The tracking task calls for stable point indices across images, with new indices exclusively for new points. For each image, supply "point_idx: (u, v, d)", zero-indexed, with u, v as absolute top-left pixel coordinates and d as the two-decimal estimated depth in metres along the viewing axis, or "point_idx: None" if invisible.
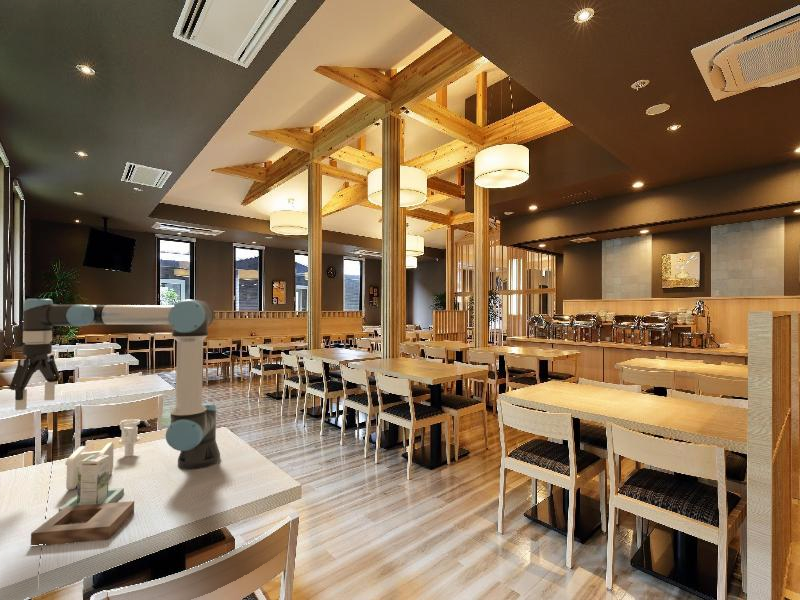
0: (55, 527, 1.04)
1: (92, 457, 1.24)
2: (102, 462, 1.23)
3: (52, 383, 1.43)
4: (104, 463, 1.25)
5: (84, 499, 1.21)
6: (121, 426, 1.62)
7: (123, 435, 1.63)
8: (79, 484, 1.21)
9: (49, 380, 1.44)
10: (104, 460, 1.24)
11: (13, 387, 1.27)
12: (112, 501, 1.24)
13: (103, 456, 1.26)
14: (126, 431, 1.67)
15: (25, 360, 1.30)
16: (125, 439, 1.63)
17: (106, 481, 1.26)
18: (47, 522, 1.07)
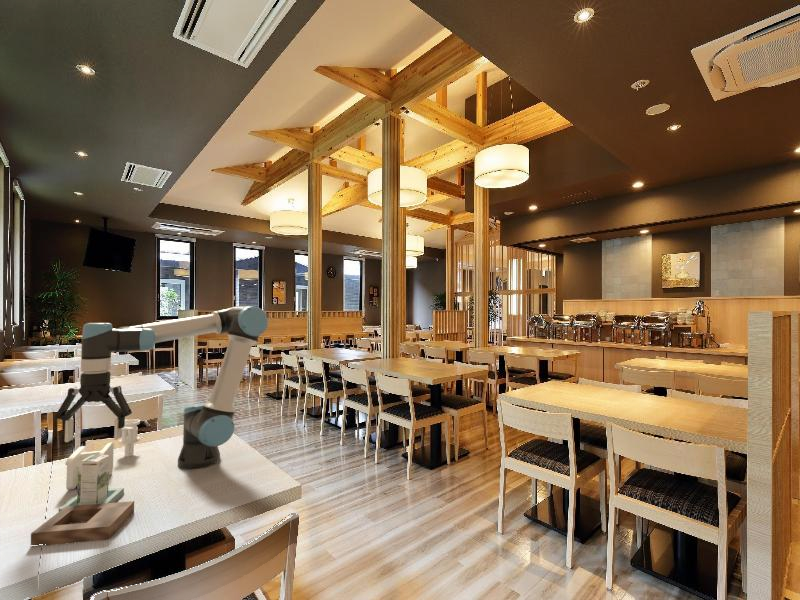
0: (55, 527, 1.04)
1: (92, 457, 1.24)
2: (102, 463, 1.23)
3: None
4: (104, 463, 1.25)
5: (84, 499, 1.21)
6: None
7: (123, 435, 1.63)
8: (79, 484, 1.21)
9: None
10: (104, 460, 1.24)
11: None
12: (112, 501, 1.24)
13: (103, 456, 1.25)
14: (126, 431, 1.67)
15: None
16: (125, 439, 1.63)
17: (106, 481, 1.26)
18: (47, 522, 1.07)
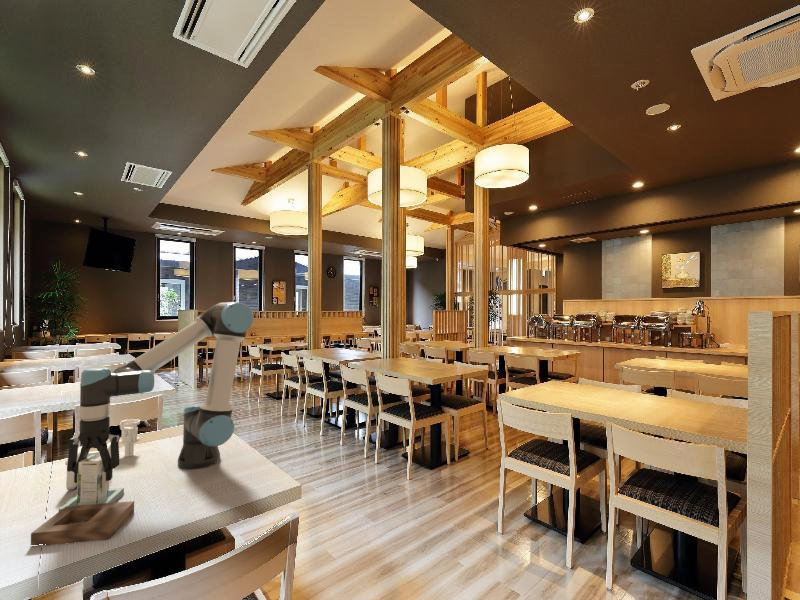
0: (55, 527, 1.04)
1: (92, 457, 1.24)
2: (102, 462, 1.23)
3: None
4: None
5: (84, 499, 1.21)
6: (121, 426, 1.62)
7: (123, 435, 1.63)
8: (79, 484, 1.21)
9: None
10: None
11: None
12: (112, 501, 1.24)
13: None
14: (126, 431, 1.67)
15: None
16: (125, 439, 1.63)
17: None
18: (47, 522, 1.07)
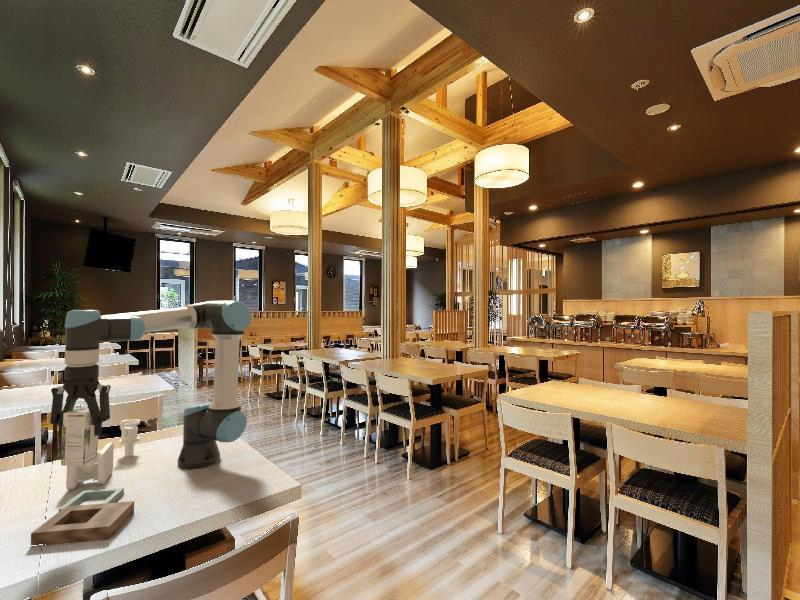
0: (55, 527, 1.04)
1: (79, 409, 1.11)
2: (90, 415, 1.10)
3: None
4: None
5: (69, 454, 1.07)
6: (121, 426, 1.62)
7: (123, 435, 1.63)
8: (64, 438, 1.07)
9: None
10: None
11: None
12: (112, 501, 1.24)
13: None
14: (126, 431, 1.67)
15: None
16: (125, 439, 1.63)
17: None
18: (47, 522, 1.07)
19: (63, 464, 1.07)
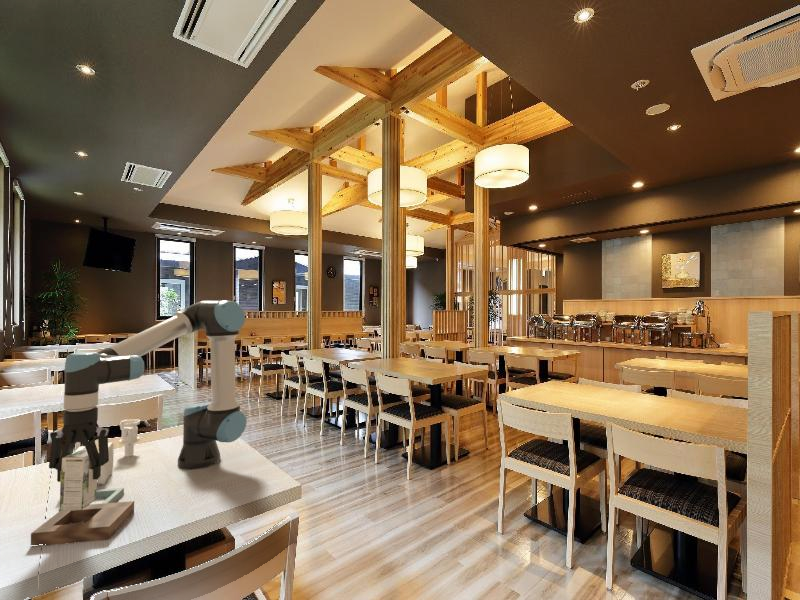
0: (55, 527, 1.04)
1: (78, 452, 1.10)
2: (88, 459, 1.10)
3: None
4: None
5: (68, 500, 1.07)
6: (121, 426, 1.62)
7: (123, 435, 1.63)
8: (62, 483, 1.07)
9: None
10: None
11: None
12: (112, 501, 1.24)
13: None
14: (126, 431, 1.67)
15: None
16: (125, 439, 1.63)
17: None
18: (47, 522, 1.07)
19: (61, 509, 1.07)
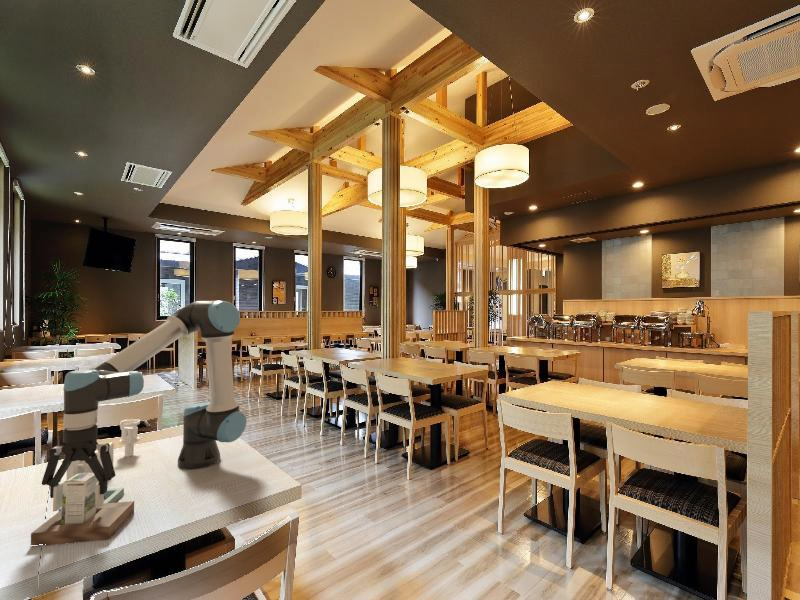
0: (55, 527, 1.04)
1: (78, 476, 1.10)
2: (90, 482, 1.10)
3: None
4: (92, 482, 1.11)
5: None
6: (121, 426, 1.62)
7: (123, 435, 1.63)
8: (64, 507, 1.07)
9: None
10: (92, 479, 1.11)
11: None
12: (112, 501, 1.24)
13: (91, 474, 1.12)
14: (126, 431, 1.67)
15: None
16: (125, 439, 1.63)
17: (94, 502, 1.12)
18: (47, 522, 1.07)
19: None
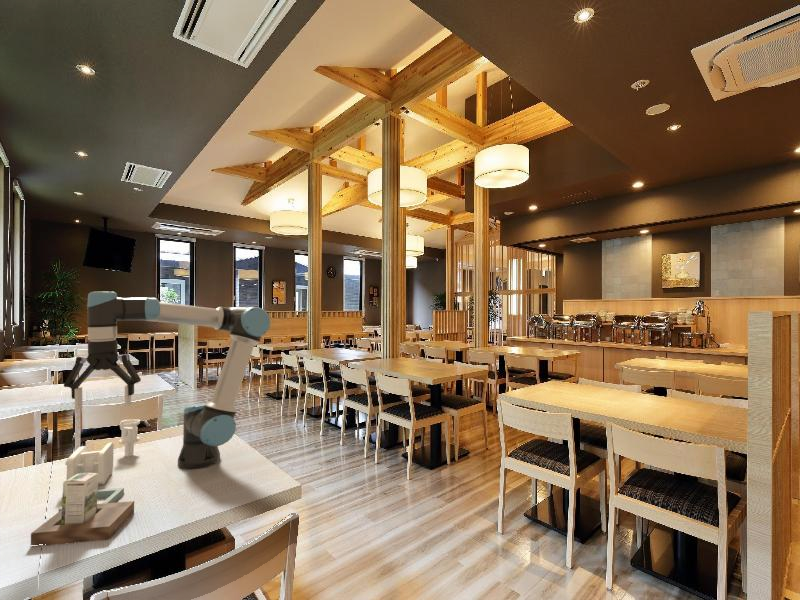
0: (55, 527, 1.04)
1: (78, 476, 1.10)
2: (90, 482, 1.10)
3: None
4: (92, 482, 1.11)
5: None
6: (121, 426, 1.62)
7: (123, 435, 1.63)
8: (64, 507, 1.07)
9: None
10: (92, 479, 1.11)
11: None
12: (112, 501, 1.24)
13: (91, 474, 1.12)
14: (126, 431, 1.67)
15: None
16: (125, 439, 1.63)
17: (94, 502, 1.12)
18: (47, 522, 1.07)
19: None
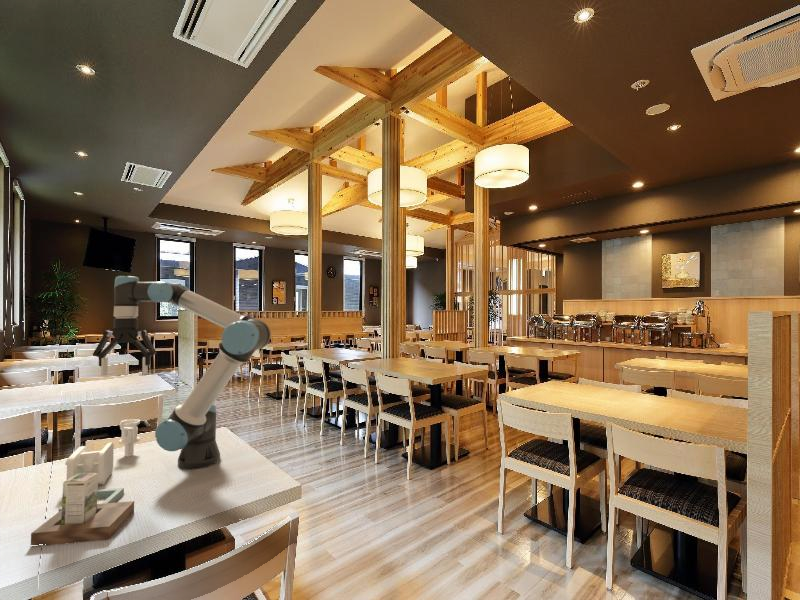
0: (55, 527, 1.04)
1: (78, 476, 1.10)
2: (90, 482, 1.10)
3: None
4: (92, 482, 1.11)
5: None
6: (121, 426, 1.62)
7: (123, 435, 1.63)
8: (64, 507, 1.07)
9: None
10: (92, 479, 1.11)
11: None
12: (112, 501, 1.24)
13: (91, 474, 1.12)
14: (126, 431, 1.67)
15: None
16: (125, 439, 1.63)
17: (94, 502, 1.12)
18: (47, 522, 1.07)
19: None
